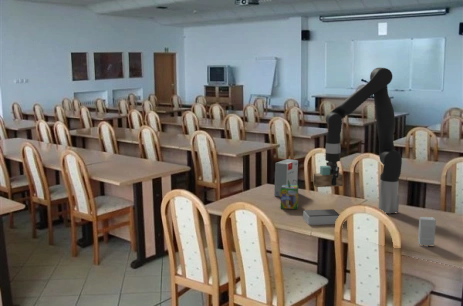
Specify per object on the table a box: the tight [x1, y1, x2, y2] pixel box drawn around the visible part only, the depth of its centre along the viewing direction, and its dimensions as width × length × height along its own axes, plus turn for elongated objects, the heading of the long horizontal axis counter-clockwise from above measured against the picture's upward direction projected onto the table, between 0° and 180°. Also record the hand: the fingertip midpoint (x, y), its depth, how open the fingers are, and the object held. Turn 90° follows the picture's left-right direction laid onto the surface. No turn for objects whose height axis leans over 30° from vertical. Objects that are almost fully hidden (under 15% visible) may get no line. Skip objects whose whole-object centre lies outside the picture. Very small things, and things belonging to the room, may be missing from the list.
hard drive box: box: [273, 158, 299, 198], centre depth 298 cm, size 16×8×20 cm, turn 147°
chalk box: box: [280, 180, 299, 210], centre depth 272 cm, size 9×9×15 cm
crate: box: [319, 165, 330, 175], centre depth 259 cm, size 4×4×4 cm
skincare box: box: [417, 216, 437, 246], centre depth 217 cm, size 6×4×12 cm
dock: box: [302, 208, 341, 226], centre depth 249 cm, size 16×10×4 cm, turn 97°
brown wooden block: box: [313, 172, 344, 188], centre depth 260 cm, size 14×5×6 cm, turn 97°
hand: (332, 183), depth 261 cm, fingers closed on brown wooden block, 5 cm apart
